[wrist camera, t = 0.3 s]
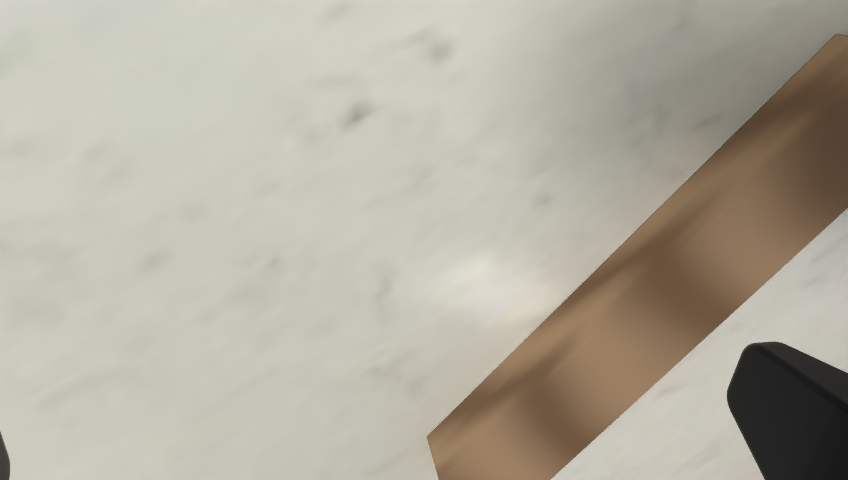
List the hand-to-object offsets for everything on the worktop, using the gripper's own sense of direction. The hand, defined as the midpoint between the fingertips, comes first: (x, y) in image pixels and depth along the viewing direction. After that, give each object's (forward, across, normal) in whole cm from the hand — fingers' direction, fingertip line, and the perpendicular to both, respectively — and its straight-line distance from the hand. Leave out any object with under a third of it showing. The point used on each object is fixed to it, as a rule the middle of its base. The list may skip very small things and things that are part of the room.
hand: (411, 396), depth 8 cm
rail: (+14, -13, +8) cm, 21 cm away
